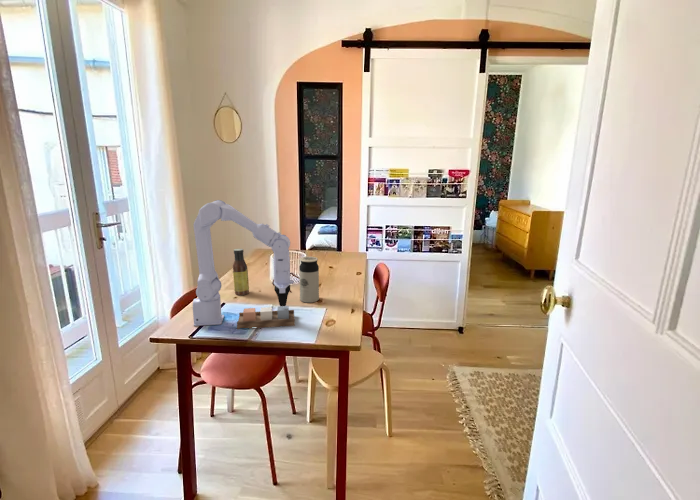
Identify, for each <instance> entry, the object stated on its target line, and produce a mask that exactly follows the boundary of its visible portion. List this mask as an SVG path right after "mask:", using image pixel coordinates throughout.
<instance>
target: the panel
mask: <svg viewBox="0 0 700 500" xmlns="http://www.w3.org/2000/svg"><path fill="white" fill-rule="evenodd" d="M255 312H256V318H255V321H243V312H239V314H238V315H239V316H238V319H237V321H236V329H237V330H241V329H240V328H249V329H253V328H252V327H257V328H256V329H261V328H276V327H277V328H279V327H280V326H282V327H296V322H295V320H296V318H295V309H289V319H278V312H277V310H272V320H261V315H260V311H255Z"/></svg>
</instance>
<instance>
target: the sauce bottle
mask: <svg viewBox="0 0 700 500" xmlns="http://www.w3.org/2000/svg"><path fill="white" fill-rule="evenodd" d="M244 253H245V252H244V249H243V248H234V249H233V254H234V261H233V263H232V276H233V277H232V278H233V286H234V287H233V288H234V289H233V290H234V293H235V295H237V296H245V295H248V294H249V293H250V286H249V274H248V271H249V270H248V266H247V262H246V260H245V259H244Z"/></svg>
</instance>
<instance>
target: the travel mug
mask: <svg viewBox="0 0 700 500" xmlns="http://www.w3.org/2000/svg"><path fill="white" fill-rule="evenodd" d="M318 260H319V259H318V257H317V256H316V257H315V256H303V257H300V258H299V261H300V265H299V270H298V271H299V278H300V279H299V300H300V301H301V302H303V303H307V304H308V303H310V304H311V303H315V302H317V301H319V299H320V291H319V290H320V285H319V284H320V283H319V282H320V277H319V276H320V273H319V272H320V271H319V269H320V266H319V263H318Z"/></svg>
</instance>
